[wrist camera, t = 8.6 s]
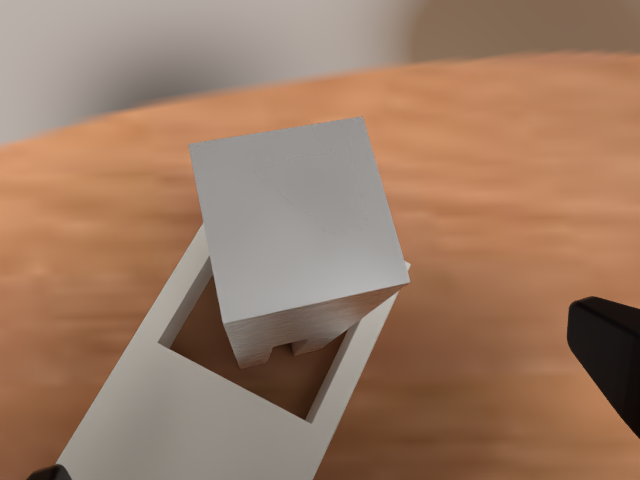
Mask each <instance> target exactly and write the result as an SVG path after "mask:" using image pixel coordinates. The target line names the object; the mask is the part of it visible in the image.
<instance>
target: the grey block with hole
mask: <svg viewBox="0 0 640 480" xmlns="http://www.w3.org/2000/svg"><path fill="white" fill-rule="evenodd" d="M405 265H406V268H407V272H408V270H409V268H410V266H411V264H409V263H407V262H405ZM212 275H213V270H212V265H211V259H210V254H209V249H208V244H207V239H206V233H205V228H204V223H203V224H202V226H201V227H200V229H199V231H198V232H197V234H196V235H195V237H194V239H193V240H192V242H191V244H190V245H189V247H188V248H187V250H186V252H185V253H184V255H183V257H182V258H181V260H180V261H179V263H178V265H177V266H176V268H175V270H174V271H173V273H172V274H171V276H170V278H169V279H168V281H167V283H166V284H165V286H164V288H163V289H162V291H161V292H160V294H159V296H158V297H157V299H156V301H155V302H154V304H153V305H152V307H151V309H150V310H149V312H148V314H147V315H146V317H145V318H144V320H143V322H142V323H141V325H140V327H139V328H138V330H137V331H136V333H135V335H134V336H133V338H132V340H131V341H130V343H129V345H128V346H127V348H126V349H125V351H124V353H123V354H122V356H121V358H120V359H119V361H118V362H117V364H116V366H115V367H114V369H113V371H112V372H111V374H110V375H109V377H108V379H107V380H106V382H105V384H104V385H103V387H102V388H101V390H100V392H99V393H98V395H97V397H96V398H95V400H94V402H93V403H92V405H91V406H90V408H89V410H88V411H87V413H86V415H85V416H84V418H83V419H82V421H81V423H80V424H79V426H78V428H77V429H76V431H75V432H74V434H73V436H72V437H71V439H70V441H69V442H68V444H67V445H66V447H65V449H64V450H63V452H62V454H61V455H60V457H59V458H58V460H57V462H56V463H55V464H61V465H63V466H64V467H65V468H66V470H67V471H68V473H69V475H70V477H71V479H72V480H313V478H314V476H315V474H316V472H317V469H318V467H319V465H320V463H321V461H322V459H323V456H324V454H325V452H326V450H327V448H328V445H329V443H330V441H331V439H332V437H333V434H334V432H335V430H336V428H337V426H338V423H339V421H340V419H341V417H342V415H343V412H344V410H345V408H346V406H347V404H348V402H349V399H350V397H351V395H352V393H353V391H354V388H355V386H356V384H357V382H358V380H359V377H360V375H361V373H362V371H363V369H364V366H365V364H366V362H367V360H368V358H369V356H370V353H371V351H372V349H373V347H374V345H375V342H376V340H377V338H378V336H379V334H380V331H381V329H382V327H383V325H384V323H385V320H386V318H387V316H388V314H389V312H390V309H391V307H392V305H393V303H394V301H395V299H396V296H397V294H398V292H399V291H398V292H397V293H395V294H394V295H393V296H391V297H390V298H389V299H387V300H386V301H385V302H383V303H382V304H381V305H379V306H378V307H377V308H375V309H374V310H373V311H371V312H370V313H368V314H367V315H366V316H364V317H363V318H362V319H360V320H359V321H358V322H356V323H355V324H354V325H352V326H351V327H350V328H349V329H348V331H347V333H346V335H345V337H344V339H343V341H342V343H341V346H340V348H339V350H338V352H337V354H336V356H335V358H334V360H333V362H332V364H331V367H330V369H329V371H328V373H327V375H326V377H325V379H324V381H323V383H322V385H321V387H320V390H319V392H318V394H317V396H316V398H315V400H314V402H313V404H312V406H311V408H310V410H309V413H308V415H307V417H306V419H305V420H303V419H301V418H299V417H297V416H296V415H294V414H292V413H290V412H288V411H286V410H284V409H282V408H280V407H278V406H277V405H275V404H273V403H271V402H269V401H267V400H265V399H263V398H261V397H259V396H258V395H256V394H254V393H252V392H250V391H248V390H246V389H244V388H242V387H240V386H239V385H237V384H235V383H233V382H231V381H229V380H227V379H225V378H223V377H221V376H220V375H218V374H216V373H214V372H212V371H210V370H208V369H206V368H204V367H202V366H201V365H199V364H197V363H195V362H193V361H191V360H189V359H187V358H185V357H183V356H181V355H180V354H178V353H176V352H174V351H172V350H170V347H171V345H172V344H173V342H174V340H175V339H176V337H177V335H178V334H179V332H180V330H181V328H182V327H183V325H184V323H185V322H186V320H187V318H188V316H189V315H190V313H191V311H192V310H193V308H194V306H195V305H196V303H197V301H198V299H199V298H200V296H201V294H202V293H203V291H204V289H205V287H206V286H207V284H208V282H209V281H210V279H211V277H212Z"/></svg>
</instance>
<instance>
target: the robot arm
mask: <svg viewBox="0 0 640 480" xmlns="http://www.w3.org/2000/svg"><path fill="white" fill-rule="evenodd" d="M567 341H568V345H569V347H570V349H571V351H572V352H573V354H574V355H575V356H576V358H577V359H578V360H579V362H580V363H581V364H582V366H583V367H584V369H585V370H586V371H587V373H588V374H589V375H590V377H591V378H592V379H593V381H594V382H595V383H596V385H597V386H598V388H599V389H600V390H601V392H602V393H603V394H604V396H605V397H606V398H607V400H608V401H609V403H610V404H611V405H612V407H613V408H614V409H615V410H616V412H617V413H618V414H619V416H620V417H621V418H622V419H623V420H624V422H625V423H626V424H627V425H628V426H629V427H630V429H631V430H632V431H633V432H634V433H635V434H636V435H637V436H638V438H639V439H640V309H638V308H634V307H630V306H627V305H623V304H620V303H616V302H613V301H609V300H606V299H602V298H598V297H594V296H590V297H586V298H583V299H580V300H577V301H574V302H572V303H571V305H570V307H569V313H568V327H567ZM27 480H72V479H71V477H70V475H69V473H68V471H67V470H66V468H65V467H64V466H63V465H61V464H55V465H52V466H49V467H45V468H42V469H39V470H36V471H34V472H33V473H32V474H31V475H30V476H29V477H28V478H27Z"/></svg>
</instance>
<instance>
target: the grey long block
mask: <svg viewBox="0 0 640 480" xmlns="http://www.w3.org/2000/svg"><path fill="white" fill-rule="evenodd" d="M188 145H189V150H190V155H191V161H192V166H193V171H194V176H195V181H196V187H197V192H198V197H199V202H200V207H201V213H202V218H203V223H204V228H205V233H206V239H207V244H208V249H209V254H210V259H211V265H212V270H213V275H214V280H215V285H216V290H217V296H218V301H219V306H220V311H221V316H222V322H223V325H224V328H225V331H226V333H227V336H228V339H229V341H230V344H231V347H232V349H233V352H234V355H235V357H236V360H237V363H238V365H239V368H240V369H241V368H245V367H250V366H254V365H258V364H262V363H266V362H267V361H268V358H269V356H270V353H271V351H272V348H273V347H274V346H278V345H283V344H287V343H291V347H292V351H293V356H296V355H300V354H304V353H309V352H313V351H317V350H320V349H321V348H323V347H324V346H326V345H327V344H328V343H330V342H331V341H332V340H334V339H335V338H336V337H338V336H339V335H340V334H342V333H343V332H344V331H346V330H347V329H348V328H350V327H351V326H352V325H354V324H355V323H356V322H358V321H359V320H360V319H362V318H363V317H364V316H366V315H367V314H368V313H370V312H371V311H373V310H374V309H375V308H377V307H378V306H379V305H381V304H382V303H383V302H385V301H386V300H387V299H389V298H390V297H391V296H393V295H394V294H395V293H397V292H398V291H399V290H401V289H402V288H403V287H405V286H406V285H407V284H409V283H410V279H409V275H408V272H407V268H406V265H405V261H404V258H403V254H402V251H401V247H400V244H399V240H398V237H397V234H396V230H395V227H394V223H393V220H392V216H391V213H390V209H389V206H388V202H387V199H386V195H385V192H384V188H383V185H382V182H381V178H380V175H379V171H378V168H377V164H376V161H375V157H374V154H373V150H372V147H371V143H370V140H369V137H368V133H367V130H366V126H365V123H364V119H363V116H362V117H356V118H350V119H344V120H337V121H331V122H325V123H318V124H312V125H306V126H299V127H293V128H287V129H280V130H274V131H268V132H261V133H255V134H249V135H242V136H236V137H230V138H223V139H217V140H211V141H204V142H198V143H192V144H188Z"/></svg>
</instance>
